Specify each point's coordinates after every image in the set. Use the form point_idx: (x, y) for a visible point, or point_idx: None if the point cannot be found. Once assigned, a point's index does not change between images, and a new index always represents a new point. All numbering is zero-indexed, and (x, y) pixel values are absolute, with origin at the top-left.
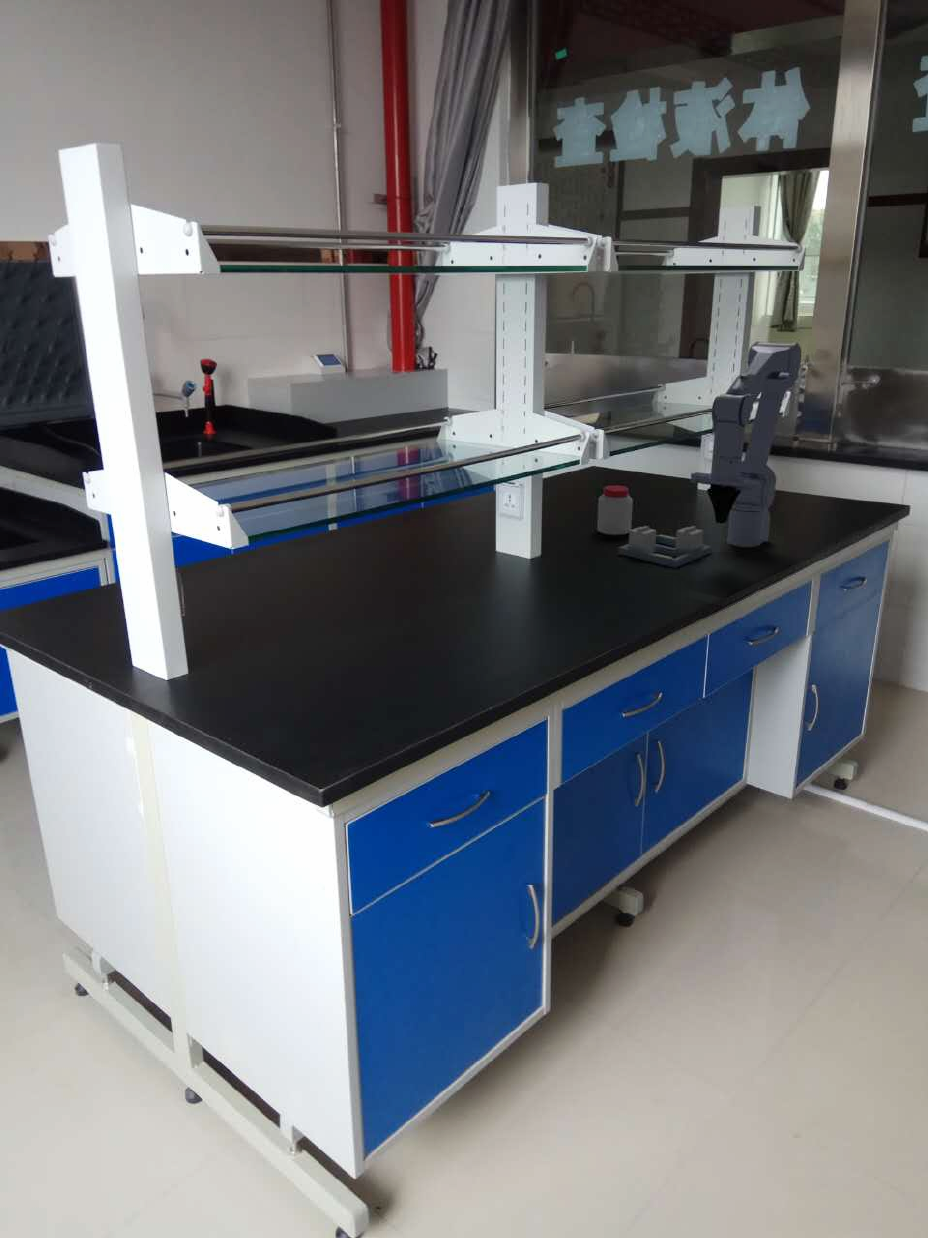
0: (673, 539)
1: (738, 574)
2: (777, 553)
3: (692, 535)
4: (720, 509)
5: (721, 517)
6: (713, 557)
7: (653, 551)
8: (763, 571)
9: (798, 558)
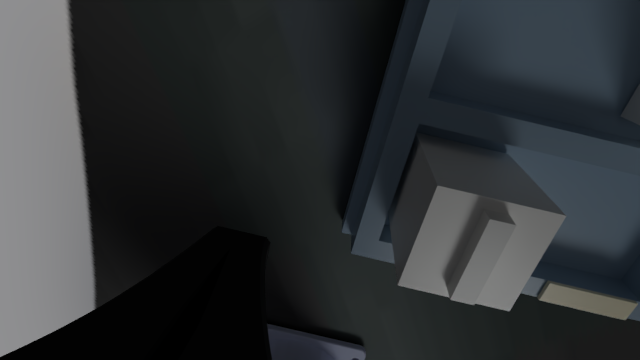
0: (551, 281)
1: (165, 53)
2: None
3: (441, 182)
4: (166, 301)
5: (192, 248)
6: None
7: (635, 104)
8: (108, 148)
9: None
